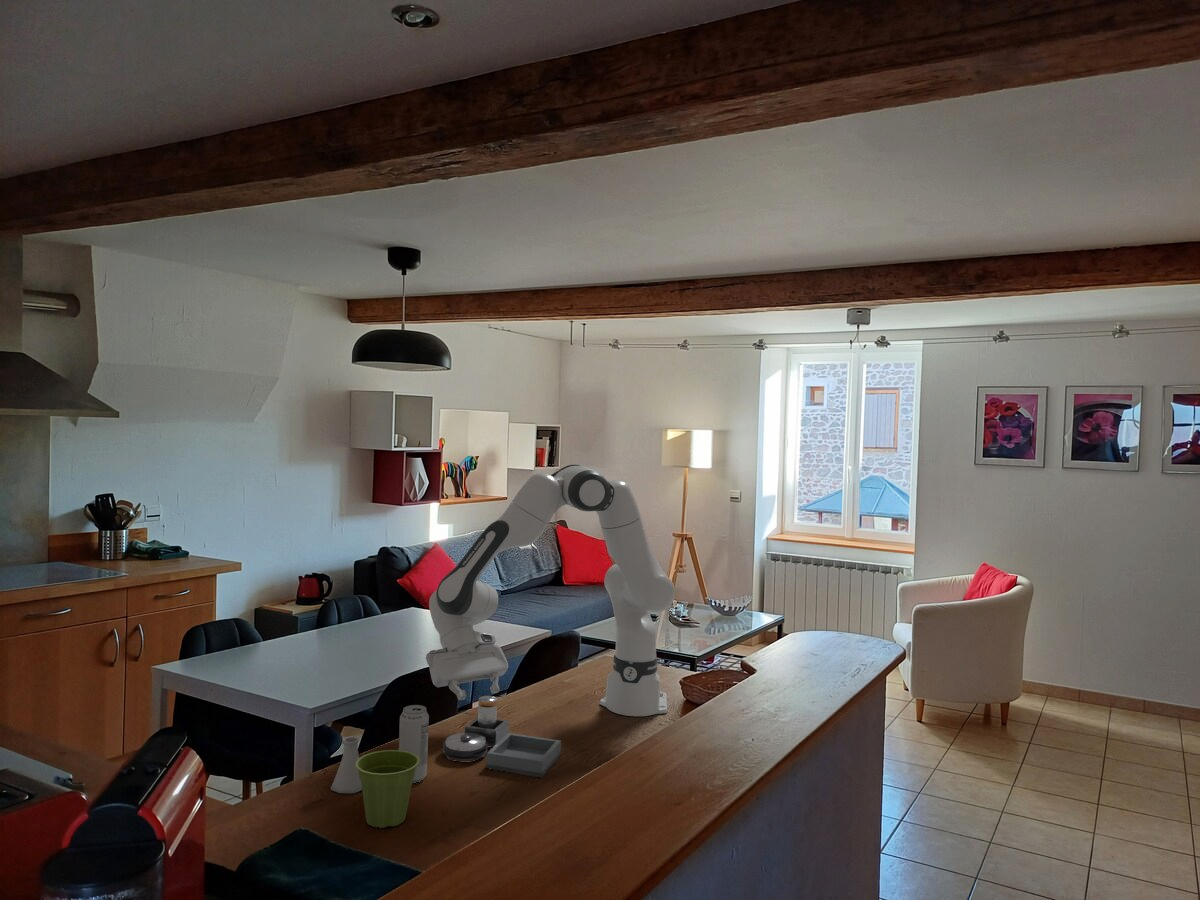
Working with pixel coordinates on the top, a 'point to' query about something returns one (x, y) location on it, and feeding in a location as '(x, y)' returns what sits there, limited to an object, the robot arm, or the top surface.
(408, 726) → the energy drink can
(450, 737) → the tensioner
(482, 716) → the glass shaker
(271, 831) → the top surface
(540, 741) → the tray
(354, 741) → the flask
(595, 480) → the robot arm
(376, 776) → the plant pot
